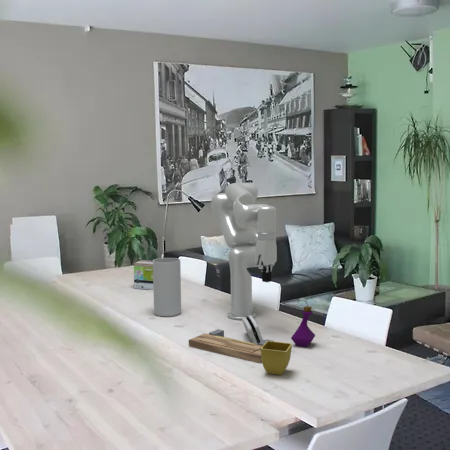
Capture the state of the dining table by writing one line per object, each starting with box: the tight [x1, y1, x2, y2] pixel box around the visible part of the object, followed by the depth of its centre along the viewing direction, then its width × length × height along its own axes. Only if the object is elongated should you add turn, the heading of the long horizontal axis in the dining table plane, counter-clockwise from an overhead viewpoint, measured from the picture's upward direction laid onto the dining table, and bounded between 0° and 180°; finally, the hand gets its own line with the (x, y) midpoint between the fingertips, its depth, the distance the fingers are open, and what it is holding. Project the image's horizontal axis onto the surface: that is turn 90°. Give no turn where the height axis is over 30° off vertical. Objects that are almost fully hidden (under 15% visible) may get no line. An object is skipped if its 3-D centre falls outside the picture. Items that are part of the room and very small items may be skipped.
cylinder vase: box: [152, 257, 182, 318], centre depth 263 cm, size 12×12×25 cm
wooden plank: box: [188, 333, 262, 364], centre depth 212 cm, size 10×32×3 cm, turn 54°
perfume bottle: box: [290, 297, 316, 348], centre depth 217 cm, size 8×8×18 cm
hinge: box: [241, 315, 266, 345], centre depth 225 cm, size 17×5×10 cm, turn 9°
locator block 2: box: [258, 339, 275, 346], centre depth 212 cm, size 6×3×3 cm, turn 144°
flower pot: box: [261, 340, 293, 376], centre depth 190 cm, size 9×9×9 cm
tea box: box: [133, 259, 154, 291], centre depth 317 cm, size 15×10×15 cm, turn 73°
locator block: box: [208, 329, 225, 337], centre depth 226 cm, size 6×3×3 cm, turn 144°
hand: (266, 281), depth 232 cm, fingers closed
